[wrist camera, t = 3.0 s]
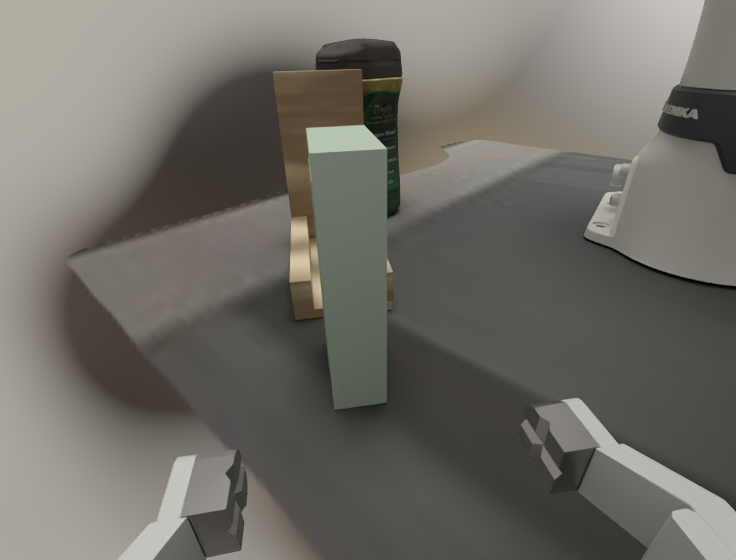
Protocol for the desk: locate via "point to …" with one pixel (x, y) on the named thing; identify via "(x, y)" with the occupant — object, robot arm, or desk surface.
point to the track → (296, 113)
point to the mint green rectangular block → (352, 258)
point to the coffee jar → (374, 94)
